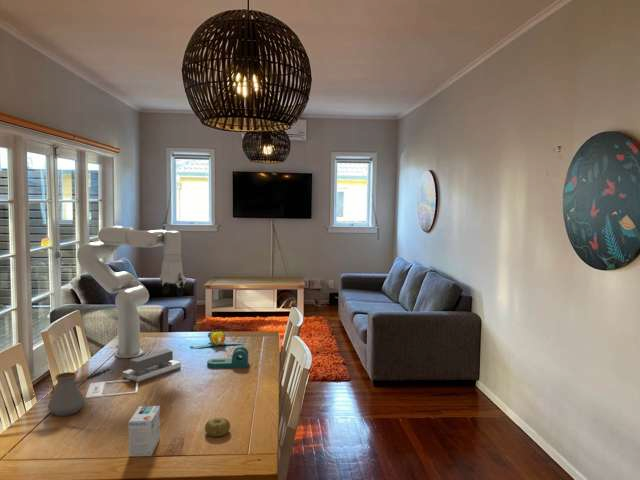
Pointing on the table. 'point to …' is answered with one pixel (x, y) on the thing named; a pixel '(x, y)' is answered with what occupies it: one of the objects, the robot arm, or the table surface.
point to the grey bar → (151, 360)
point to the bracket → (231, 360)
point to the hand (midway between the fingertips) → (172, 294)
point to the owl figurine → (216, 339)
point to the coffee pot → (68, 394)
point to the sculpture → (217, 427)
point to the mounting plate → (151, 372)
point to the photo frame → (98, 387)
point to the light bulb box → (144, 431)
